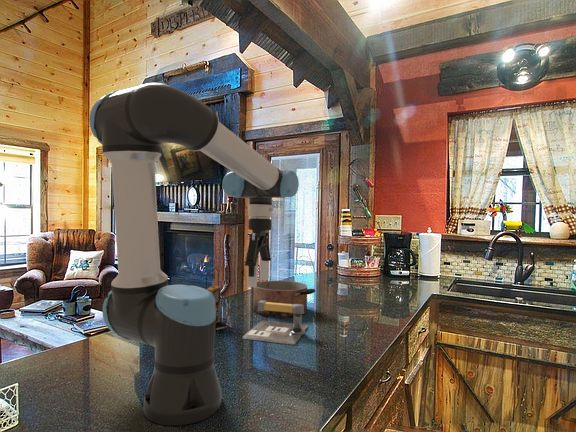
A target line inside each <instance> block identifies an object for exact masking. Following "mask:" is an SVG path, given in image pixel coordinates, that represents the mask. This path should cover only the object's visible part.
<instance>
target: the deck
mask: <svg viewBox="0 0 576 432" xmlns="http://www.w3.org/2000/svg"><path fill="white" fill-rule="evenodd" d="M292 319H293V323H291V322H290V323H289V322H280V321H272V320H271V321H270V320H264V319H262V320H261V321H259V322H258V323H257V324H255V326H254V327H252V328H251V329H250V330H249V331H247V332H246V333H245V334H244V335H243V336H242V339H243V340H249V341H251V340H252V341H257V342H258V341H259V342H268V343H275V344H283V345H291V346H293V345H294V346H296V344H297V343H298V341H299V339H300V338H301V337H302V335H305V334H306V330H307V328H308V324H303V322H302V320H303V315H302V314H294V315H293V317H292ZM269 326H274V327H283V328H289V330H288V331H287V332H286V333H285V334H283V333H274V332H273V333H272V334H271V335H270V336H269V337H268V338H263V337H254V336H247V334H248V333H249V332H250V331H252V330H258V331H265V330H266V329H267V328H268V327H269Z"/></svg>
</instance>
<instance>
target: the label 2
mask: <svg viewBox="0 0 576 432" xmlns="http://www.w3.org/2000/svg"><path fill="white" fill-rule="evenodd" d="M288 330H289V328H283V327H274V326H269V327H268V328H267V329H266V330H265V331H267V332H274V333H283V334H285V333H286V332H287V331H288Z"/></svg>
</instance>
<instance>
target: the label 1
mask: <svg viewBox="0 0 576 432" xmlns="http://www.w3.org/2000/svg"><path fill="white" fill-rule="evenodd" d="M249 331H250V330H249ZM249 331H248V332H249ZM272 333H273V332H267V331H258V330H252V331H250V332H249V333H248V334H247V336H254V337H263V338H268V337H269V336H270V335H271V334H272Z"/></svg>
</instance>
